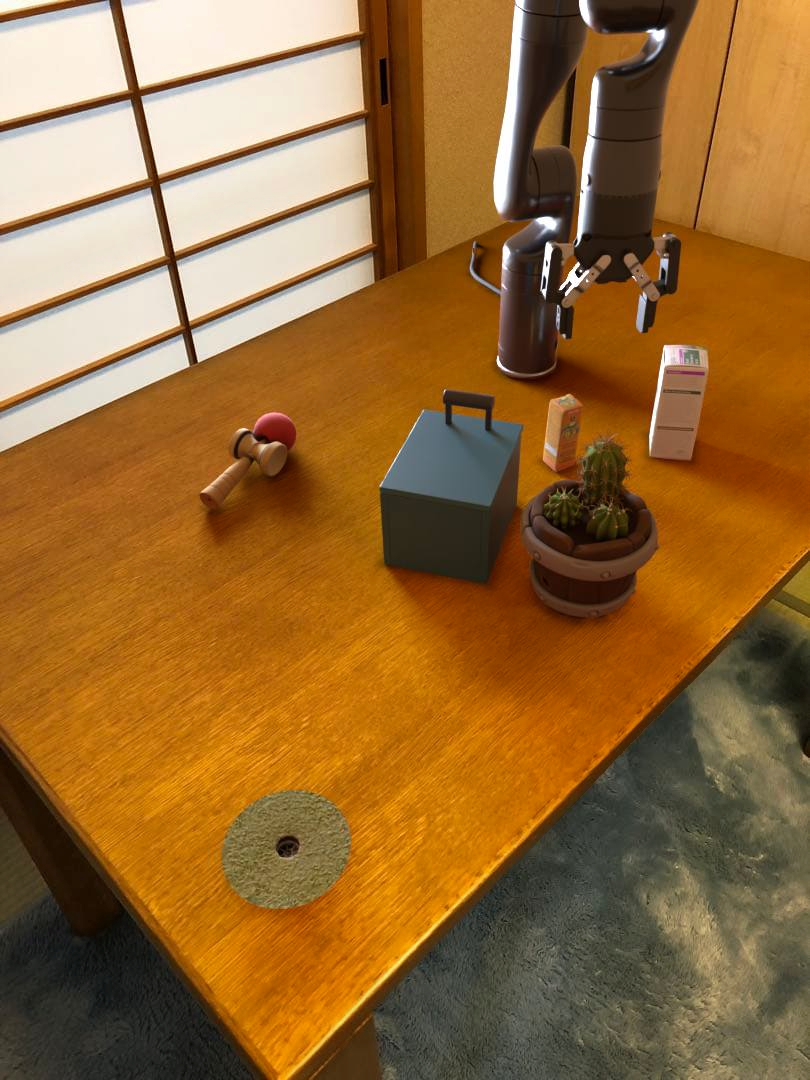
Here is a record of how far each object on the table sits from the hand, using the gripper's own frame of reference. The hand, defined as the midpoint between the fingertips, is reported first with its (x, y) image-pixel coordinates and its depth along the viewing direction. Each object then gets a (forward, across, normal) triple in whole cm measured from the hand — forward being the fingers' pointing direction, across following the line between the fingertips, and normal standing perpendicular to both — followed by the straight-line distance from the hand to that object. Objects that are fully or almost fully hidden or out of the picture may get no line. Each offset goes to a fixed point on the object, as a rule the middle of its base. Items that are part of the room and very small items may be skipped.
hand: (603, 333), depth 97 cm
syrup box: (+24, -15, -13) cm, 31 cm away
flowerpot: (+26, +4, +14) cm, 29 cm away
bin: (+25, +17, +2) cm, 30 cm away
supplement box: (+24, +1, -11) cm, 26 cm away
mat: (+27, +37, +44) cm, 64 cm away
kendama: (+24, +43, -14) cm, 51 cm away
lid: (+14, +17, +2) cm, 22 cm away
